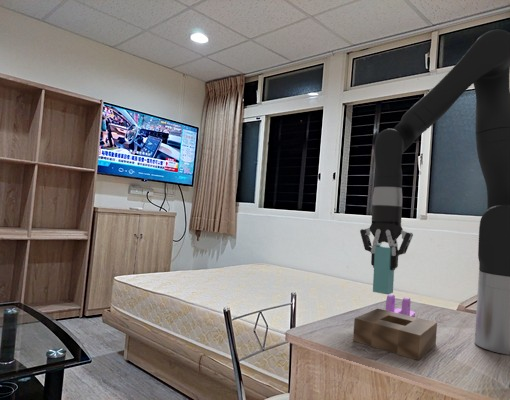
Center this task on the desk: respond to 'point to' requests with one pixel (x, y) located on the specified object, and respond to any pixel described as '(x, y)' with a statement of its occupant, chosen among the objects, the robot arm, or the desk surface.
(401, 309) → the bracket
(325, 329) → the desk surface
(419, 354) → the socket block
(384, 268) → the peg
